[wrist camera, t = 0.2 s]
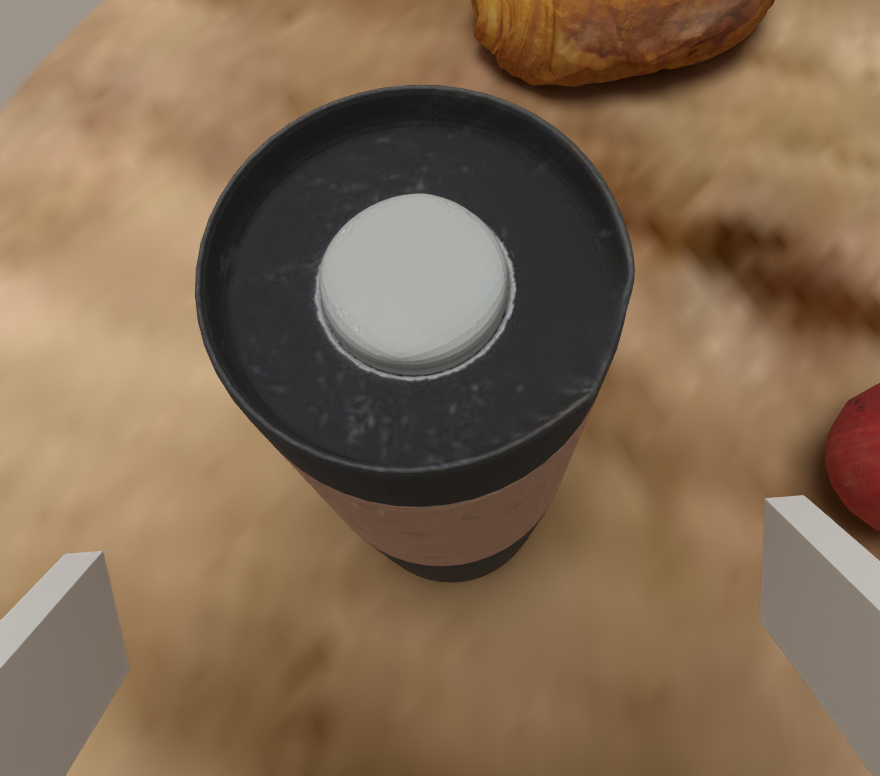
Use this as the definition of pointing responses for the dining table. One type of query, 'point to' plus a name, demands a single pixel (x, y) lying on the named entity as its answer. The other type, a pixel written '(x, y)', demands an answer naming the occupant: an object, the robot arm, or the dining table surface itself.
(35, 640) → the robot arm
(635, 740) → the dining table surface
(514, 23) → the croissant
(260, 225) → the travel mug
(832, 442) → the onion
